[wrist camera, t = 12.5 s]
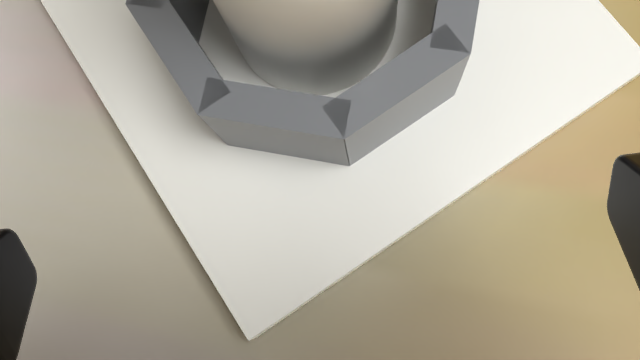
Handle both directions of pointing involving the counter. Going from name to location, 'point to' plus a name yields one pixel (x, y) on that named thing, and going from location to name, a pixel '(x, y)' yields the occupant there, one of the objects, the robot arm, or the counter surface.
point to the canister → (311, 40)
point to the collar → (335, 128)
